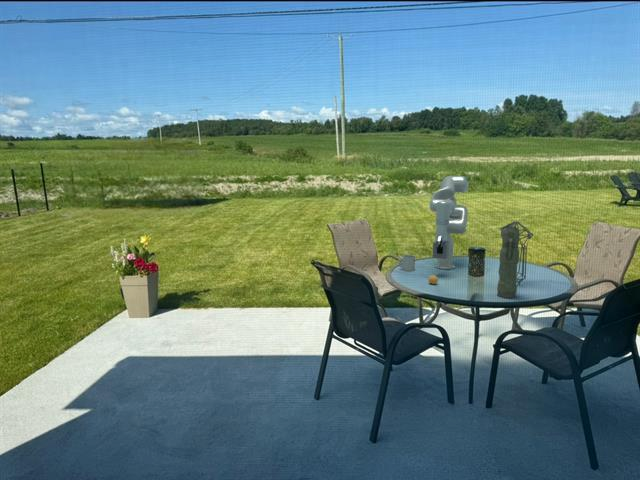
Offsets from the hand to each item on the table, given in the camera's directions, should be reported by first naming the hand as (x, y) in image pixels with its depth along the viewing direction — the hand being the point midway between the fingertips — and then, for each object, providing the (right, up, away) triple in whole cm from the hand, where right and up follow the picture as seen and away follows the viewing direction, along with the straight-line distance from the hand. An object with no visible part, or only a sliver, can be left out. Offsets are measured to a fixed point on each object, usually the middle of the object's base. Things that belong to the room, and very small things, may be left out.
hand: (441, 252), depth 263 cm
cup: (-17, -12, +18) cm, 27 cm away
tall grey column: (+23, -21, -36) cm, 48 cm away
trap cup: (0, -3, +1) cm, 3 cm away
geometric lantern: (+35, -17, -13) cm, 42 cm away
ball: (-8, -15, -15) cm, 23 cm away
